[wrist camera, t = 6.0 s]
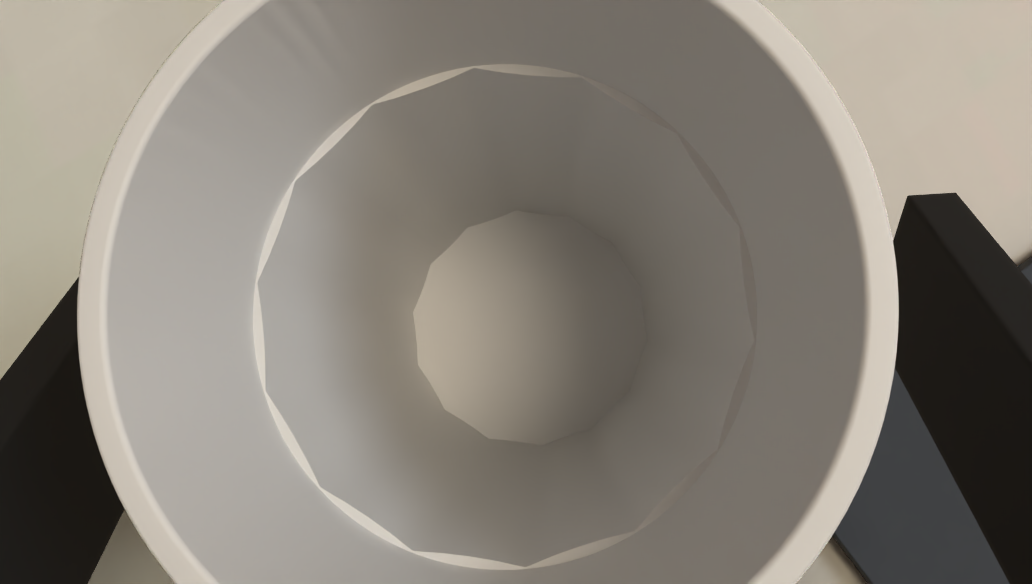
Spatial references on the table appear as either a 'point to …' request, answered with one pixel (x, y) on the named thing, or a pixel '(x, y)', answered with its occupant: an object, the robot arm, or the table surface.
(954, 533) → the mat
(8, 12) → the table surface
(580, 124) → the cup
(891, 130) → the table surface
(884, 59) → the table surface
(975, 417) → the robot arm
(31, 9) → the table surface
